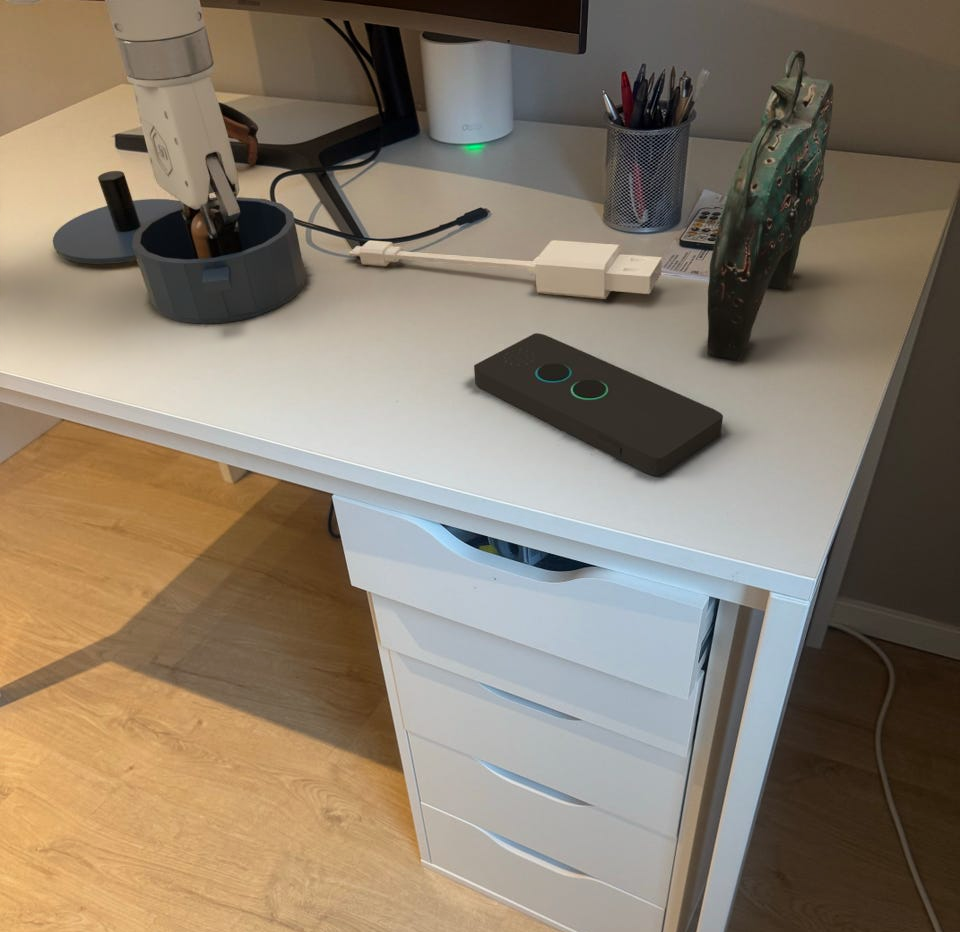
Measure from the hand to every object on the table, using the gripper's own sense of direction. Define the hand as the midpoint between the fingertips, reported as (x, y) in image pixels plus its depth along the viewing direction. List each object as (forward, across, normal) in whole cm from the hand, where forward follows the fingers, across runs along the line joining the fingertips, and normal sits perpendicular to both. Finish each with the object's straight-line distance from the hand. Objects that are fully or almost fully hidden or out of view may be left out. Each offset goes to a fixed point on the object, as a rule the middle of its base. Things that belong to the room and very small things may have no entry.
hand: (221, 264), depth 91 cm
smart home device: (+2, +42, +13) cm, 44 cm away
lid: (+2, -20, -3) cm, 20 cm away
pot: (+2, 0, 0) cm, 2 cm away
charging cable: (+2, +18, +22) cm, 28 cm away
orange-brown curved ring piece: (+3, -34, +15) cm, 37 cm away
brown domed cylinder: (+2, 0, 0) cm, 2 cm away
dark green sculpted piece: (+2, +40, +34) cm, 52 cm away
